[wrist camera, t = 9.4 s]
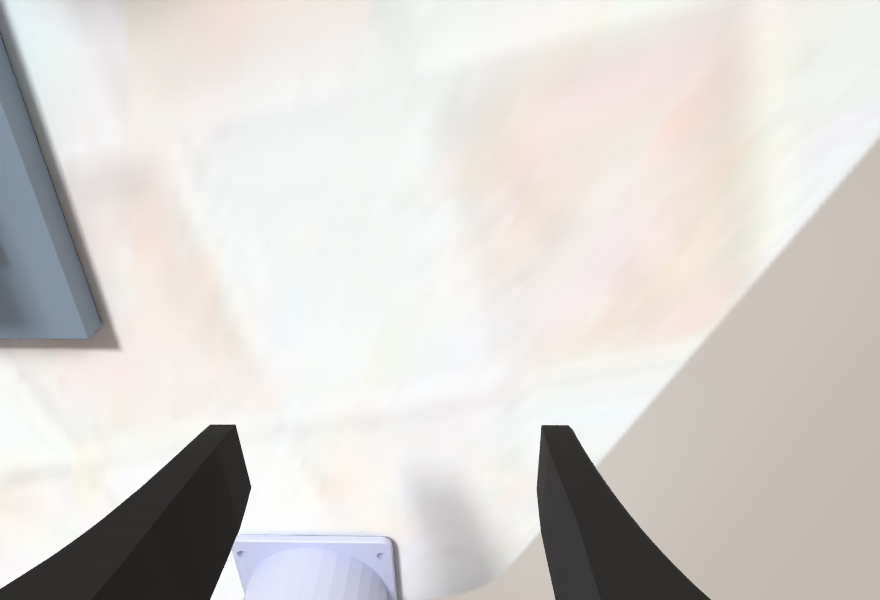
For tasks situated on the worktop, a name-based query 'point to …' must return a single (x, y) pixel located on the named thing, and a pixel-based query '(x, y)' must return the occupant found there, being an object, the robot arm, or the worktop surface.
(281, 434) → the worktop surface
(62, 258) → the board
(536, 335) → the worktop surface
